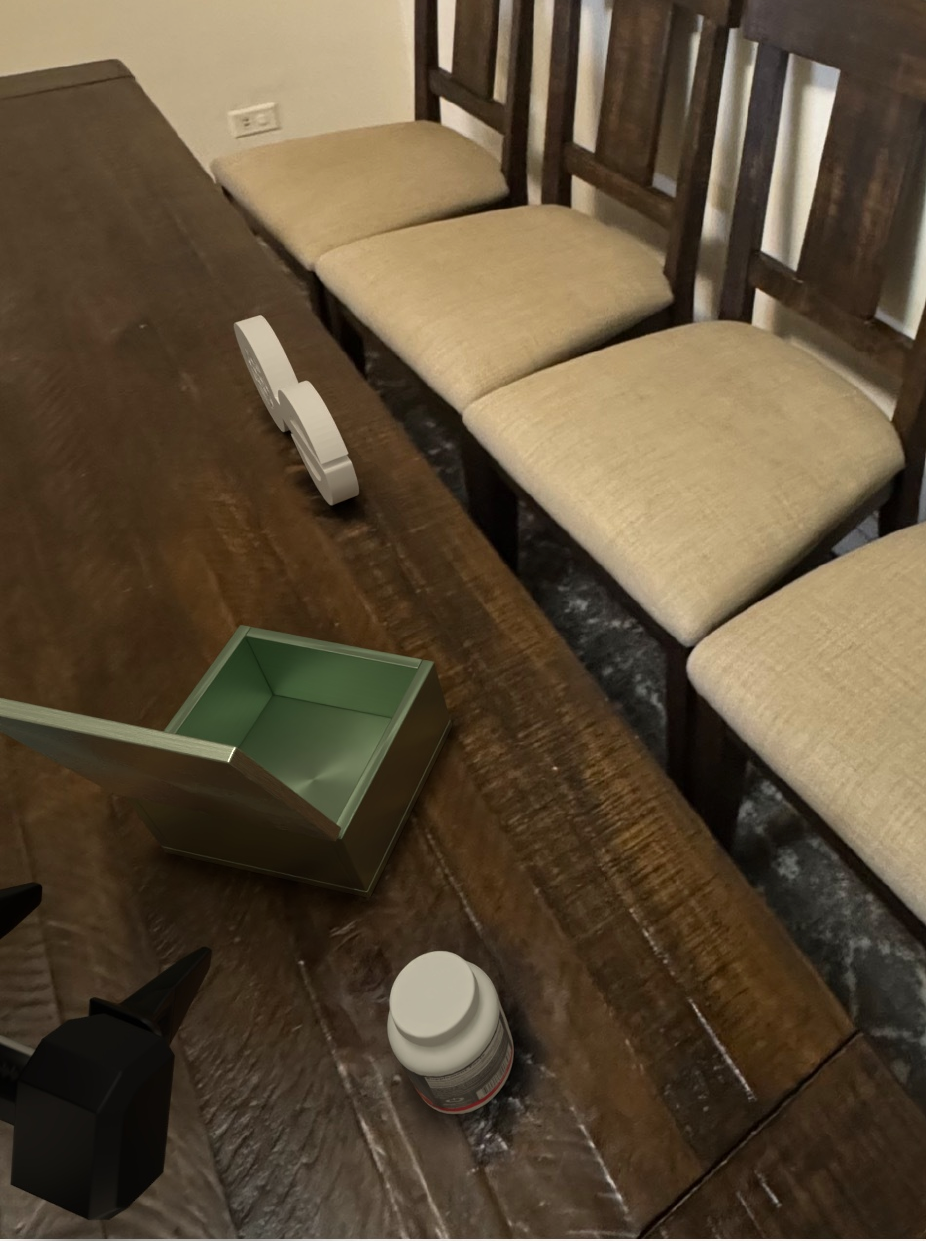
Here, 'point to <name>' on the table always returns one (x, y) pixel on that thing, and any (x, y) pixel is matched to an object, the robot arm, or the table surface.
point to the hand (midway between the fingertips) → (122, 923)
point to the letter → (297, 410)
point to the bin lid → (164, 768)
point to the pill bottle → (449, 1032)
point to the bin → (312, 753)
